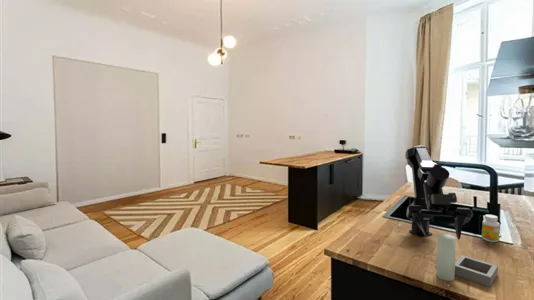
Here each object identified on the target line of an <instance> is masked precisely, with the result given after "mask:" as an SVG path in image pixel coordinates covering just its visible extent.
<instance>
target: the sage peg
mask: <svg viewBox="0 0 534 300" xmlns="http://www.w3.org/2000/svg"><path fill="white" fill-rule="evenodd" d="M436 241H437V246H436V271H435V273H436V277H437V278H439V279H440V280H442V279H443V281H447V282H453V281H455V277H456V275H455V262H456V254H457V251H456V248H457V236H454V235H453V234H452V235H451V234H449V233H438V234H437V240H436Z"/></svg>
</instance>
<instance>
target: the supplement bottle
mask: <svg viewBox="0 0 534 300" xmlns="http://www.w3.org/2000/svg"><path fill="white" fill-rule="evenodd" d="M498 221H499V218H498V216H497V215H494V214H485V215H484V220H482V223H481V224H482V227H481V239H483V240H484V241H485V242H487V241H488V242H491V243H497V242H499V239H500V227H501V226H500V225H501V224H500V222H498Z"/></svg>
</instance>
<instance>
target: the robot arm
mask: <svg viewBox="0 0 534 300" xmlns="http://www.w3.org/2000/svg"><path fill="white" fill-rule="evenodd" d="M428 150H429V149H428V146H426V145H414V146H413V147H411V148H407V149H406V151H405V160H406V162H407V165H408V166H409V167H410V168H411V172H412V181H413V182H412V183H413V184H412V185H413V191H414V200H413V202H412V203H411V204H408V206H407V208H406V218H407V219H410V221H412V222H411V229H409V230H408V231H409V232H410V233H412V234H414V235H416V236H419V237H421V238H423V237H428V236H431V235H433V233H432V232H430V222H432V223H434V220H435V217H445V218H447V217H448V218H453V220H454V222H453V225H454V230H455V234H456V236H455V237H456V239H457V240H460V239H461V235H462V229H463V226H464V225H465V224H468V223H469V222H470V221H471V220H472V218H473V217H474V213H473V210H472V209H470V208H469V207H456V209H455V210H454V211H453V210H448V209H449V208H450V205H451V204H455V203H457V202H458V198H457V194H456V192H449V193H446V194H445V193H444V189H443V188H444V187H445V186H446V184H447V181H448V179H449V177H450V172H449V170H448V169H446V168H445V167H443V166H442V164H441V163H439V164H438V163H436V162H433V160H432V158H431V156H430V153H429V151H428Z"/></svg>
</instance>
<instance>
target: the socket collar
mask: <svg viewBox="0 0 534 300" xmlns="http://www.w3.org/2000/svg"><path fill="white" fill-rule="evenodd" d="M498 271H499V266H498V265H496V264H493V263H489V262H488V261H487V262H486V261H483V260H479V259H476V258H473V257H470V256H467V255H464V254H462V255H461V256H460V257H459V258H458V259H456V260H455V276H457V277H460V278H463V279H466V280H469V281H471V282H475V283H477V284H481V285H483V286H486V287H489V288H490V287H491V286H492V285H493V283H494V281H495V279H496V278H497V276H498Z"/></svg>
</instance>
